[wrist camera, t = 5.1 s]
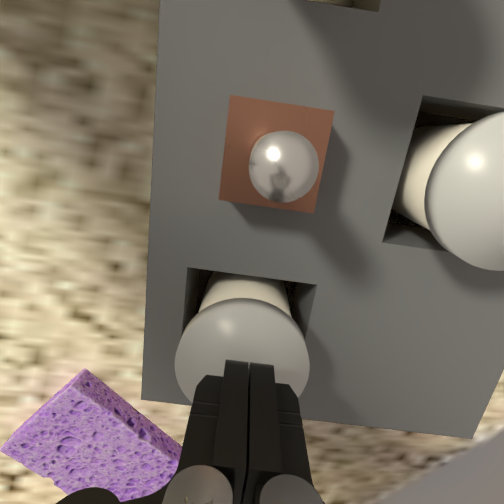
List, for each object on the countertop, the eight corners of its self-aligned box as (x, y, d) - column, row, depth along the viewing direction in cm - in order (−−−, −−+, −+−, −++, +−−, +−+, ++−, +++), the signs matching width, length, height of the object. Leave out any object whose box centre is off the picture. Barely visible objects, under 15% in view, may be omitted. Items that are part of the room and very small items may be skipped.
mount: (202, -200, 12) (176, -361, 8) (618, -121, 12) (781, -237, 8) (164, 346, 19) (141, 399, 15) (429, 379, 19) (471, 439, 16)
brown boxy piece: (233, 99, 11) (217, 73, 6) (324, 114, 11) (376, 98, 6) (222, 192, 12) (201, 229, 7) (306, 204, 12) (340, 248, 7)
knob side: (387, 110, 14) (470, 94, 9) (492, 126, 14) (637, 121, 9) (360, 216, 16) (416, 259, 10) (456, 230, 16) (562, 280, 10)
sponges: (88, 361, 20) (71, 384, 18) (236, 480, 23) (234, 509, 21) (16, 424, 21) (-6, 451, 19) (163, 527, 24) (156, 558, 22)
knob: (204, 244, 16) (179, 300, 11) (299, 257, 16) (322, 319, 11) (196, 328, 18) (170, 414, 12) (283, 339, 18) (296, 429, 12)
